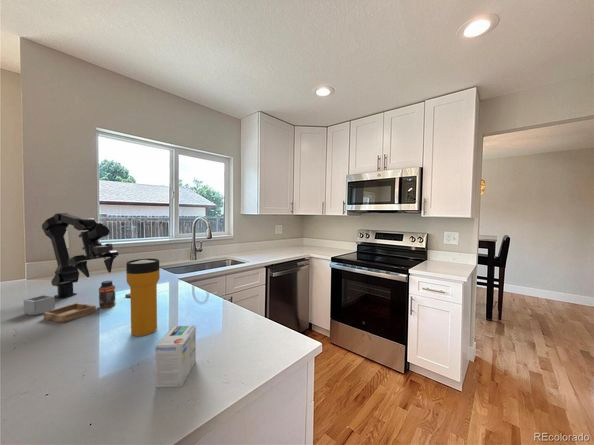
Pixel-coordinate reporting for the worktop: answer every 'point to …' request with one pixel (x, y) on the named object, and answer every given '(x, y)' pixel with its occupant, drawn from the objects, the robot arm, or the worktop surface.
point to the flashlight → (143, 294)
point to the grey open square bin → (39, 304)
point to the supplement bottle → (107, 294)
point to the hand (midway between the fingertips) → (99, 274)
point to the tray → (69, 312)
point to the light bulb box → (175, 356)
